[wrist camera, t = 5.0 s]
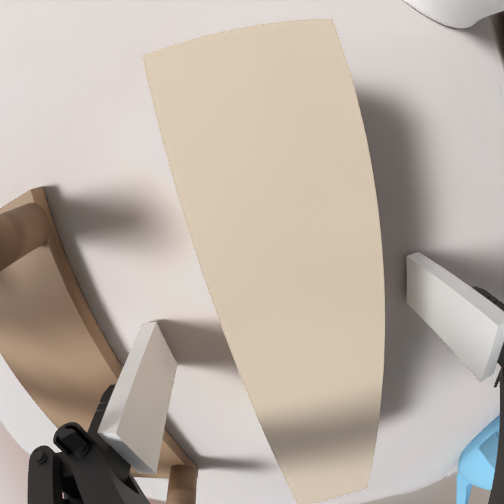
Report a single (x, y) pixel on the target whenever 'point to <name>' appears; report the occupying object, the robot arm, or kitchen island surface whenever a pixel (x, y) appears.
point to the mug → (457, 10)
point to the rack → (62, 334)
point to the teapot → (478, 462)
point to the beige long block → (284, 235)
